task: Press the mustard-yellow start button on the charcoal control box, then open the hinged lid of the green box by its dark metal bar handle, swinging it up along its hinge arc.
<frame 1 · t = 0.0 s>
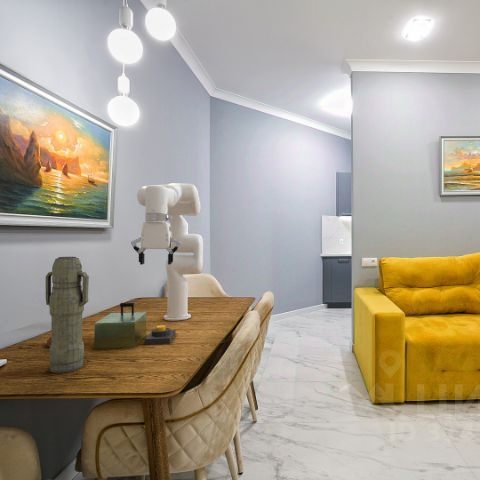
hand: (156, 264, 132), 31 cm above the table, tool pointing down, fingers open, 9 cm apart
green box: (121, 341, 137), on the table
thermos: (67, 368, 111), on the table
button: (160, 328, 141), point 4 cm above the table, slide at 0.1 cm
mortar and pestle: (58, 345, 132), on the table
lid: (122, 312, 137), point 12 cm above the table, hinge at 0.0°
control box: (160, 339, 141), on the table
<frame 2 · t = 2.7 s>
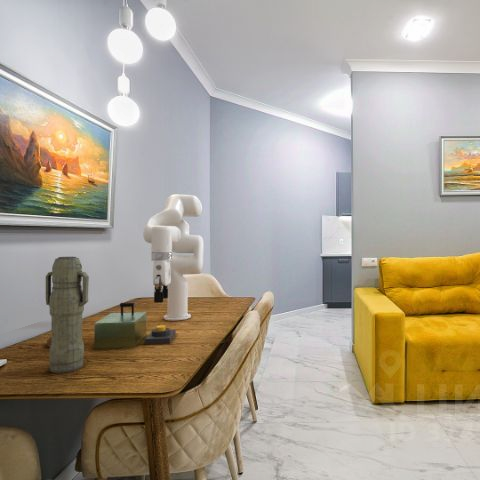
hand: (161, 300, 141), 16 cm above the table, tool pointing down, fingers open, 8 cm apart
nothing on the table moved.
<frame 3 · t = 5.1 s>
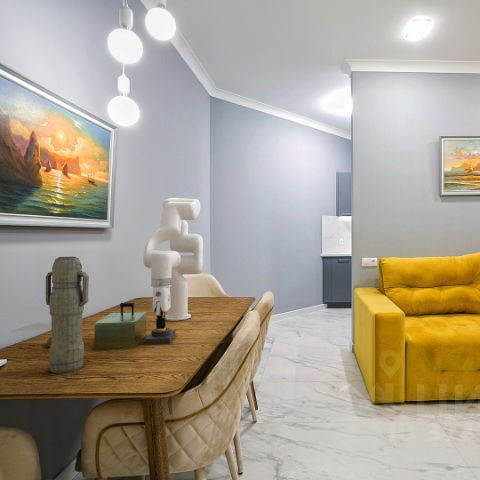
hand: (160, 328, 141), 5 cm above the table, tool pointing down, fingers closed
button: (160, 330, 141), point 4 cm above the table, slide at -0.6 cm, touching gripper
everything else where it was.
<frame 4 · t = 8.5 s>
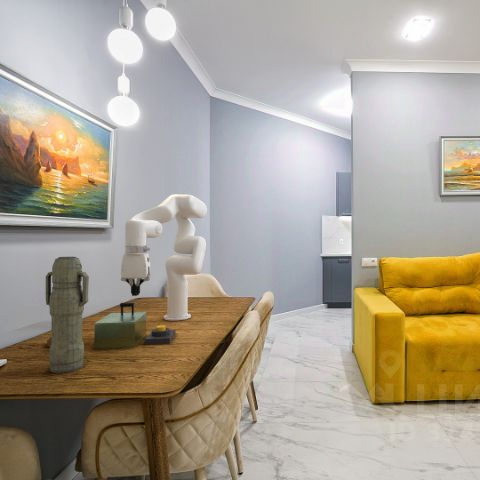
hand: (135, 295, 142), 17 cm above the table, tool pointing down, fingers closed
button: (160, 328, 141), point 4 cm above the table, slide at 0.1 cm
everything else where it was.
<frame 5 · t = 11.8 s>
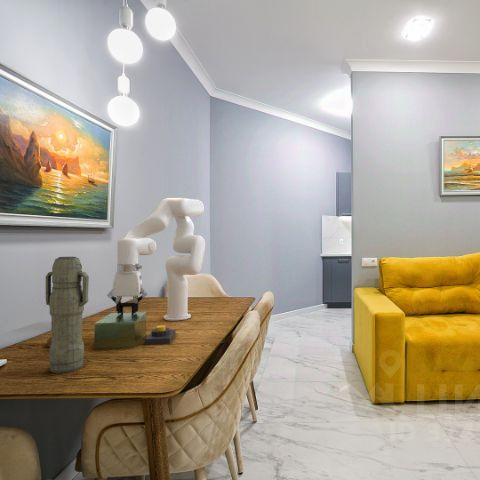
hand: (127, 312, 143), 10 cm above the table, tool pointing down, fingers closed on lid, 5 cm apart
lid: (122, 312, 137), point 12 cm above the table, hinge at 0.0°, touching gripper
everything else where it was.
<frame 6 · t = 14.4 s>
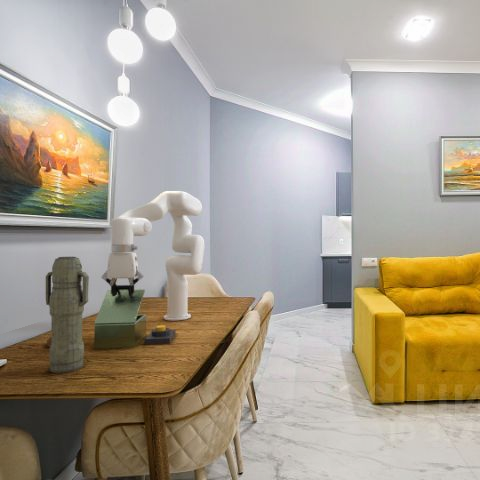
hand: (122, 295, 137), 18 cm above the table, tool pointing down, fingers closed on lid, 5 cm apart
lid: (119, 302, 134), point 16 cm above the table, hinge at 38.5°, touching gripper
everything else where it was.
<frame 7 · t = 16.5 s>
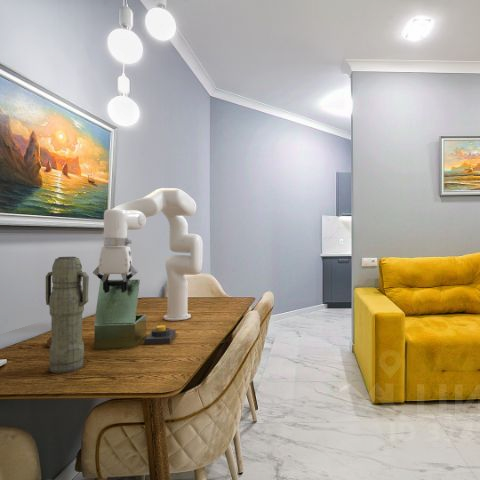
hand: (115, 291, 129), 21 cm above the table, tool pointing down, fingers closed on lid, 5 cm apart
lid: (115, 300, 130), point 18 cm above the table, hinge at 70.3°, touching gripper
everything else where it was.
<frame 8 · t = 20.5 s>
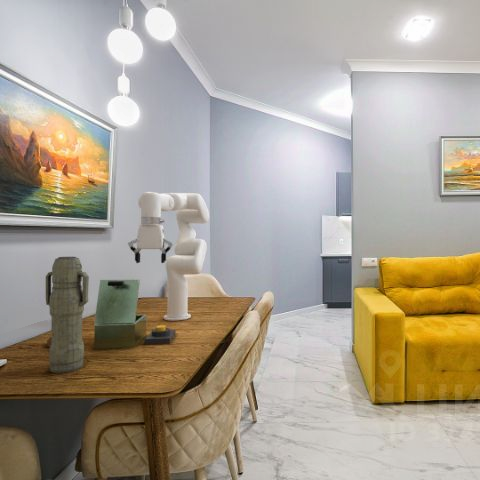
hand: (150, 262, 147), 30 cm above the table, tool pointing down, fingers open, 9 cm apart
lid: (115, 300, 130), point 18 cm above the table, hinge at 70.6°
everything else where it was.
at the end: button pushed in 1.1 cm at the most during the clip and back out by the end; lid at +71° (first picture: +0°) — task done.
